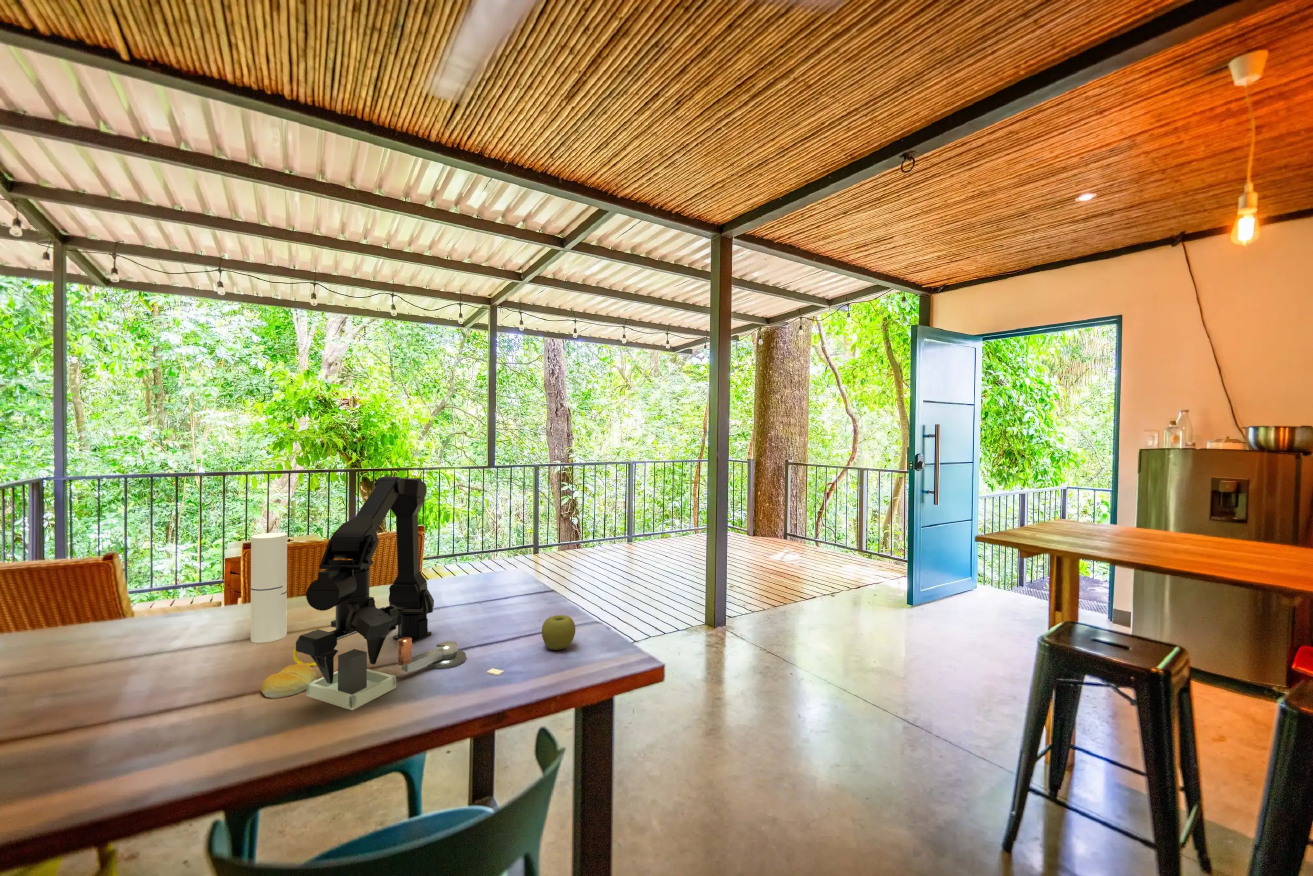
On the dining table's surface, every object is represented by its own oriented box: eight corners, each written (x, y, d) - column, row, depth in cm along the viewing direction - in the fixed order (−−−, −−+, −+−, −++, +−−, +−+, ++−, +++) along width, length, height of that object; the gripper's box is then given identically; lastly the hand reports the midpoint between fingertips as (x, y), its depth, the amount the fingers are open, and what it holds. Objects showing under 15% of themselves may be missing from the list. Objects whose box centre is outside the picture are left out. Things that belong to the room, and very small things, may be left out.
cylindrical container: (243, 640, 131) (244, 536, 130) (274, 630, 137) (274, 531, 137) (263, 645, 128) (263, 539, 128) (293, 634, 135) (293, 534, 134)
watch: (326, 662, 120) (329, 635, 120) (322, 668, 117) (325, 640, 117) (295, 663, 118) (298, 636, 118) (290, 668, 115) (293, 641, 115)
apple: (568, 655, 124) (568, 624, 124) (535, 652, 126) (536, 621, 126) (579, 643, 132) (580, 613, 132) (548, 640, 134) (549, 611, 133)
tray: (352, 710, 99) (352, 697, 99) (306, 696, 104) (306, 684, 104) (396, 687, 108) (396, 676, 108) (352, 675, 113) (352, 664, 113)
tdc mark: (486, 673, 115) (486, 671, 115) (492, 669, 117) (492, 668, 117) (498, 675, 114) (498, 674, 114) (503, 672, 115) (503, 671, 115)
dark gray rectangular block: (337, 691, 105) (338, 655, 105) (354, 683, 108) (354, 648, 108) (350, 695, 104) (350, 658, 103) (366, 687, 107) (366, 652, 107)
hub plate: (418, 664, 118) (418, 660, 118) (446, 651, 126) (446, 647, 126) (446, 671, 115) (447, 667, 115) (473, 657, 123) (473, 653, 123)
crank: (449, 649, 124) (449, 620, 123) (461, 654, 121) (461, 624, 121) (392, 671, 112) (392, 639, 112) (404, 676, 110) (405, 643, 110)
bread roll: (251, 697, 104) (251, 677, 104) (291, 676, 112) (291, 657, 112) (287, 702, 102) (287, 681, 102) (325, 681, 111) (325, 661, 111)
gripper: (336, 614, 94) (335, 704, 94) (421, 586, 111) (421, 662, 111) (294, 605, 98) (293, 691, 99) (382, 579, 115) (382, 652, 116)
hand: (352, 673), depth 106 cm, fingers open, 9 cm apart
